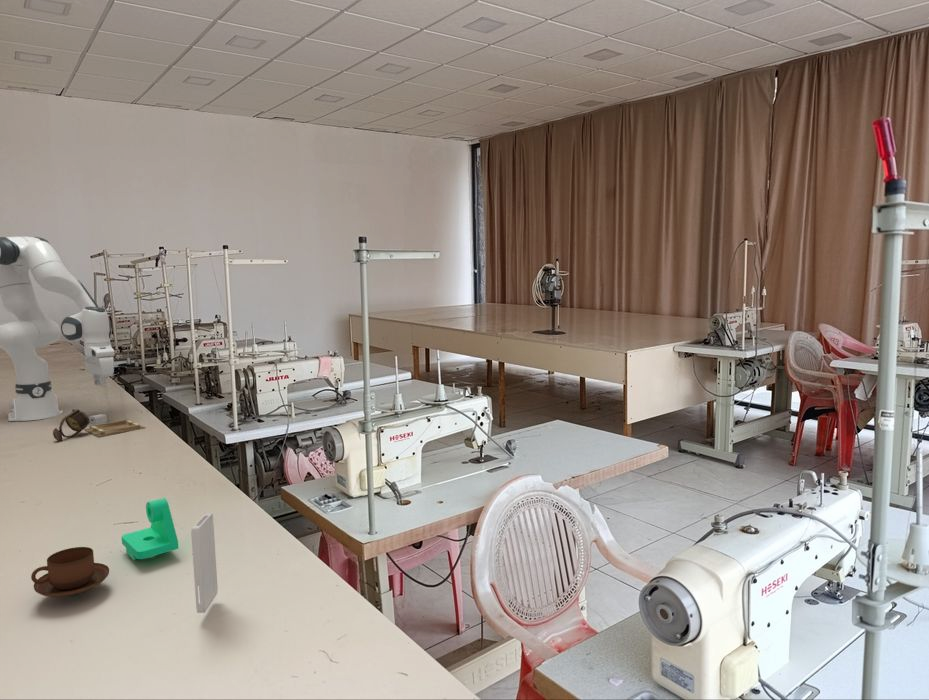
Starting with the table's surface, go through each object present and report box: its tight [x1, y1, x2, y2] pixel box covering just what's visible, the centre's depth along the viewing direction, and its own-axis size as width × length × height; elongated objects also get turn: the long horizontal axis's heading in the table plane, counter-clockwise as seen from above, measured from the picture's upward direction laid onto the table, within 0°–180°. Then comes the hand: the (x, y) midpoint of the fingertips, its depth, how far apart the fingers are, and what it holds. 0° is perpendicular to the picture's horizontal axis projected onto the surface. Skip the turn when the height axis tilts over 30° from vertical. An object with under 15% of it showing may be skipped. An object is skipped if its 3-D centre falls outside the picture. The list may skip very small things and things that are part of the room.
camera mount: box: [121, 497, 179, 560], centre depth 136 cm, size 12×8×10 cm, turn 43°
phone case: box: [190, 513, 219, 614], centre depth 113 cm, size 7×1×15 cm, turn 3°
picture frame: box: [83, 419, 146, 439], centre depth 240 cm, size 15×16×2 cm
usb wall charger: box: [88, 413, 113, 426], centre depth 251 cm, size 4×7×4 cm, turn 151°
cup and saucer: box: [30, 546, 110, 598], centre depth 121 cm, size 12×12×6 cm
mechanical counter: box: [52, 408, 90, 442], centre depth 230 cm, size 7×13×10 cm, turn 174°
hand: (100, 385), depth 250 cm, fingers open, 4 cm apart
